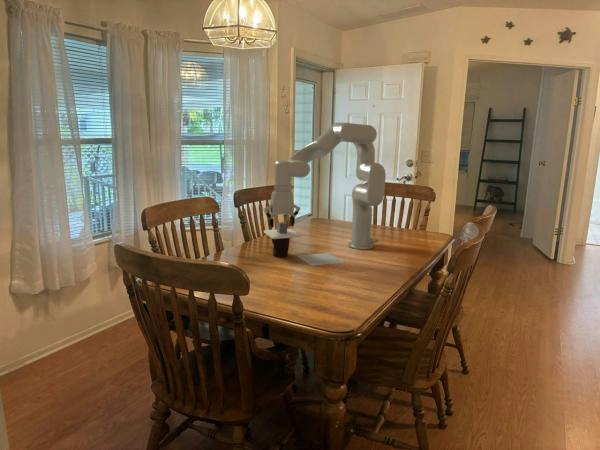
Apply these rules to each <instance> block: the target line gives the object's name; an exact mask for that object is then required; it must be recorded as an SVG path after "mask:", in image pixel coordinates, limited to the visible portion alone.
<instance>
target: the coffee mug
mask: <svg viewBox="0 0 600 450" xmlns="http://www.w3.org/2000/svg"><path fill="white" fill-rule="evenodd" d="M290 241H291V238H280V239H272V238H271V245H272V247H271V248H272V256H273V257H274V258H277V259H279V258H280V259H281V258H287V257H288V255H289V247H290V243H291V242H290Z"/></svg>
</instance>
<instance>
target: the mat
mask: <svg viewBox="0 0 600 450" xmlns="http://www.w3.org/2000/svg"><path fill="white" fill-rule="evenodd" d="M297 258H299V259H300V260H302V261H303V262H305V263H306V264H308V265H309V266H311V267H315V266H316V267H317V266H325V265H326V266H327V265H333V264H334V265H335V264H343V263H344V264H345V261H343V260H341V259H339V258H337V257H336V256H334V255H332V254H331V253H330V252H323V253H315V254H313V253H312V254H303V255H297Z"/></svg>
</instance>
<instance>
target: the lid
mask: <svg viewBox="0 0 600 450" xmlns="http://www.w3.org/2000/svg"><path fill="white" fill-rule="evenodd" d="M263 233H264V234H265V235H267V236H269V238H271V240H272V239H280V238H290V239H291V238H293V239H294V238H301V237H302V236H301V234H300V233H298V231H297V232H296V231H295V230H294V229H292V228H288V222H285V221H277V222H276V229H263Z"/></svg>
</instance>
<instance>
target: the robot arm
mask: <svg viewBox="0 0 600 450" xmlns="http://www.w3.org/2000/svg"><path fill="white" fill-rule="evenodd" d="M377 133H378V132H377V130H376V128H375V127H374V126H372V125H370V124H361V123H360V124H359V123H351V122H334V123H333V124H332V125H330V126H329V127H328V128H327V129H325V131H324V132H322V134H320V135H319V136H318V137H317V138H316V139H315V140H314V141H312V142H310V143H308V144H307V145H305V146H304V147H302V148H301V149H299V150H297V151H296V152H294V153H293V154H292V155H291V157H289V159H288V160H276V161H275V162H274V169H273V170H274V173H273V174H274V177H273V178H274V181H273V191H272V192H271V196H270V202H269V205H268V206H265V208H263V212H264V214H265V215H266V217H268V225H269V227H270V228H272V229H273V228H274V227H275V226H274V225H275V223H274V222H275V219H274V217H275V216H276V215H290V217H289V226H290V227H294V226H295V222H296V221H295V219H296V217H297V215H299V212H300V210H301V207H300V206H298V205H296V204H294V195H293V191H292V190H294V189H295V187H294V185H292V178H300V179H302V178H305V177H307V176H308V175H309V174H310V172H311V167H310V165H309V163H310V162H311V161H315V160H318V159H322V158H324V157H326V156H327V155H329V154H330V153H331V152H332V151H334V149H335V148H336V147H337V146H338V145H340V144H341V143H342V142H343V143H350V144H351V143H352V144H353V145H354V147H355V150H356V157H357V158H356V168H355V169H356V170H355V174H356V178H357V179H358V180H359V181H362V182H366V183H359V184H356V185H355V186H354V187H353V188H352V191H351V199H352V223H351V241H350V242H348V243H347V246H348V247H349V248H350V249H355V250H371V249H372V248H374V243H379V240H380V239H379V238H374V237H372V223H373V222H372V221H373V220H372V219H373V208H372V207H378V206H379V205H380V204H382V202H383V200H384V197H385V190H386V189H385V188H386V170H385V167H384V166H383V165H382V164H380V163H379V162H376V159H375V158H376V150H375V149H376V148H375V146H374V142H375V141H376V139H377V135H378V134H377ZM269 212H270V213H269Z"/></svg>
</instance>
